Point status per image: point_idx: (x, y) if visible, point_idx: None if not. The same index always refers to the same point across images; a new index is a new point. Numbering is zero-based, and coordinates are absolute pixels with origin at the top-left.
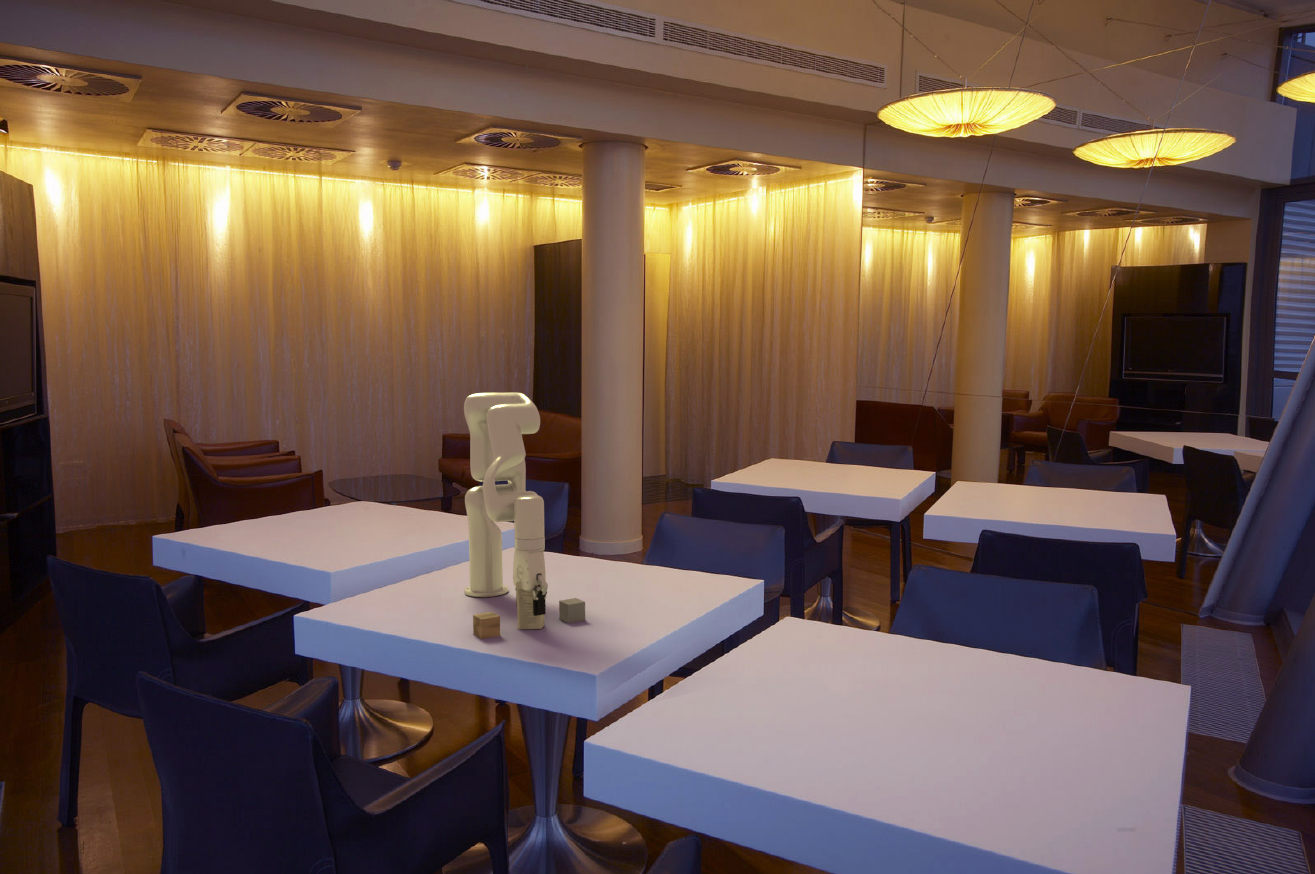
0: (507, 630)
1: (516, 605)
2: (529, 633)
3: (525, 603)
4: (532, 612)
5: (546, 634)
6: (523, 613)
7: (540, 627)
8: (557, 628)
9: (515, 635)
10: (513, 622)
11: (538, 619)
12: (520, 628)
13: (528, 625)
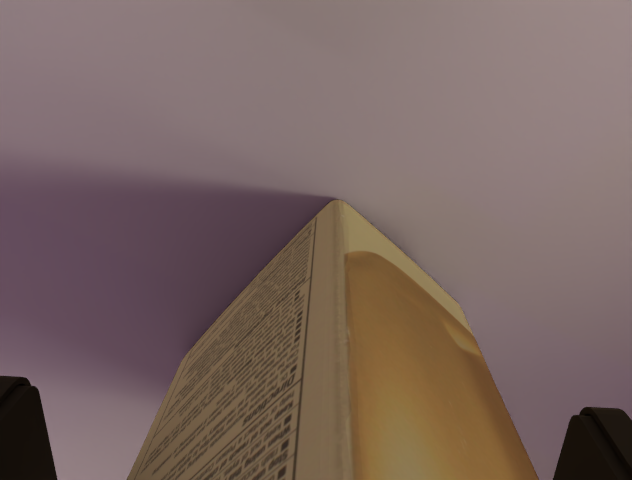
0: (359, 72)
1: (629, 419)
2: (116, 214)
3: (210, 476)
4: (180, 426)
5: (9, 320)
6: (269, 334)
7: (180, 364)
8: None
9: (117, 54)
10: (590, 272)
11: (162, 407)
12: (315, 218)
13: (251, 293)
